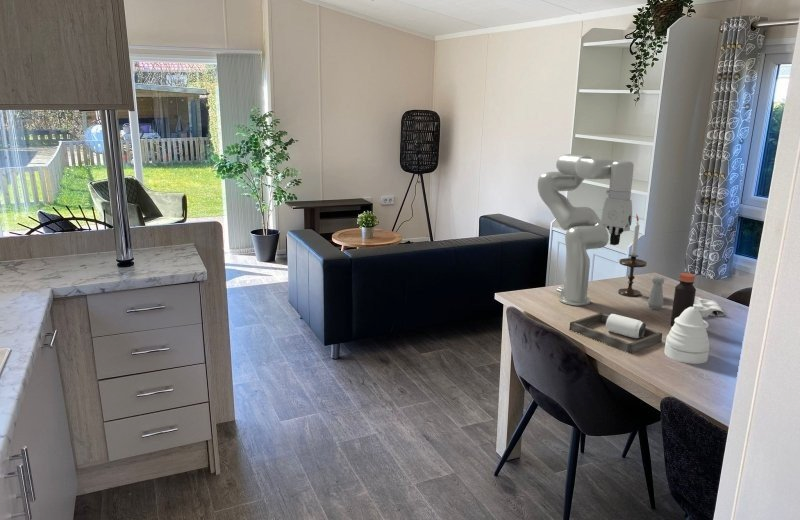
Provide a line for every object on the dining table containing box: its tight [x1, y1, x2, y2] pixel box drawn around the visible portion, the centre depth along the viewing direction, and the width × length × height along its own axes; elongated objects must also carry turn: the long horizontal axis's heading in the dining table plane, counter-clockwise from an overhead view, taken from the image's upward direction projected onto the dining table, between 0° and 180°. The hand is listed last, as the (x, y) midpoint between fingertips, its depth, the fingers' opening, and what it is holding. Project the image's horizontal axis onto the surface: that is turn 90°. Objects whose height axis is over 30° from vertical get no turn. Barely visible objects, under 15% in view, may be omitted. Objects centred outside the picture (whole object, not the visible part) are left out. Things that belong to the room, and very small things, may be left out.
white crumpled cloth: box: [694, 295, 725, 318], centre depth 234 cm, size 3×18×15 cm
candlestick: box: [618, 213, 647, 298], centre depth 250 cm, size 11×11×35 cm
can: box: [605, 313, 647, 340], centre depth 208 cm, size 6×6×12 cm
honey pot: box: [664, 304, 710, 365], centre depth 190 cm, size 13×13×18 cm
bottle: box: [669, 272, 697, 327], centre depth 214 cm, size 7×7×20 cm
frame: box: [568, 312, 663, 354], centre depth 207 cm, size 25×18×3 cm
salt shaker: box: [647, 276, 665, 311], centre depth 235 cm, size 6×6×13 cm
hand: (614, 244), depth 217 cm, fingers closed
